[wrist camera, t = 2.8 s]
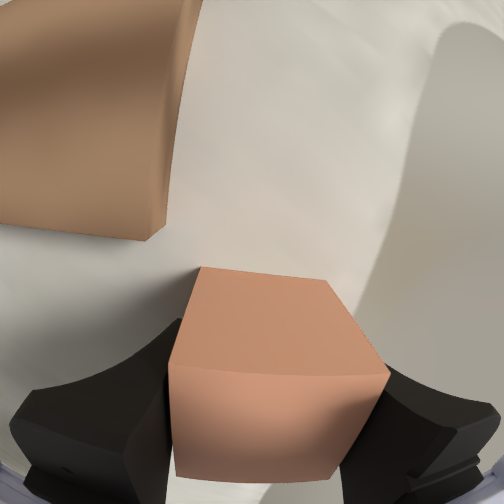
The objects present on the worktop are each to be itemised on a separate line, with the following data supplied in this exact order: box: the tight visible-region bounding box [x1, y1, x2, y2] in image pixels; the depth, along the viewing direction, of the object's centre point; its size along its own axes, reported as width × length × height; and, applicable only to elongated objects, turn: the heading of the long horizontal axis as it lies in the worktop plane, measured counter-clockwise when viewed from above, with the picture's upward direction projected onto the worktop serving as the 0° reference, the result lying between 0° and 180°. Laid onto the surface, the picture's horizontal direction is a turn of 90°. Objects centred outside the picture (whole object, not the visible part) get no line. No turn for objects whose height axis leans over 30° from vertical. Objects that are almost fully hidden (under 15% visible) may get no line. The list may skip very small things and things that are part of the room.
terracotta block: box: [168, 267, 391, 483], centre depth 9 cm, size 5×5×6 cm
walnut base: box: [0, 0, 203, 241], centre depth 8 cm, size 10×10×3 cm
